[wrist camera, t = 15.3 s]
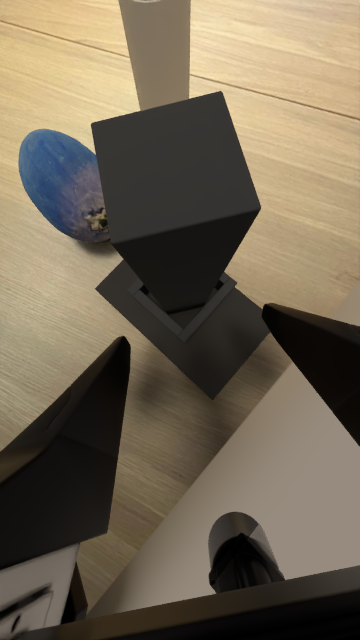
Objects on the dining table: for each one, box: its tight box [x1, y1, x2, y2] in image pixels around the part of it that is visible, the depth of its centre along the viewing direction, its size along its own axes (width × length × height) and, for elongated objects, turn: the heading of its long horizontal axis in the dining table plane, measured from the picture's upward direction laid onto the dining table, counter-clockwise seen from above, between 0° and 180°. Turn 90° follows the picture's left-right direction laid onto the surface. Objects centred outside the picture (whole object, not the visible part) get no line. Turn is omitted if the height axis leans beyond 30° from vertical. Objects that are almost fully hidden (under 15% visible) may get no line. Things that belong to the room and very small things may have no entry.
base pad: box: [95, 260, 270, 400], centre depth 16 cm, size 20×12×4 cm, turn 48°
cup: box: [119, 0, 191, 111], centre depth 17 cm, size 7×10×9 cm
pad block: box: [91, 91, 261, 315], centre depth 11 cm, size 4×4×13 cm
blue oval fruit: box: [19, 129, 110, 242], centre depth 16 cm, size 9×9×15 cm
